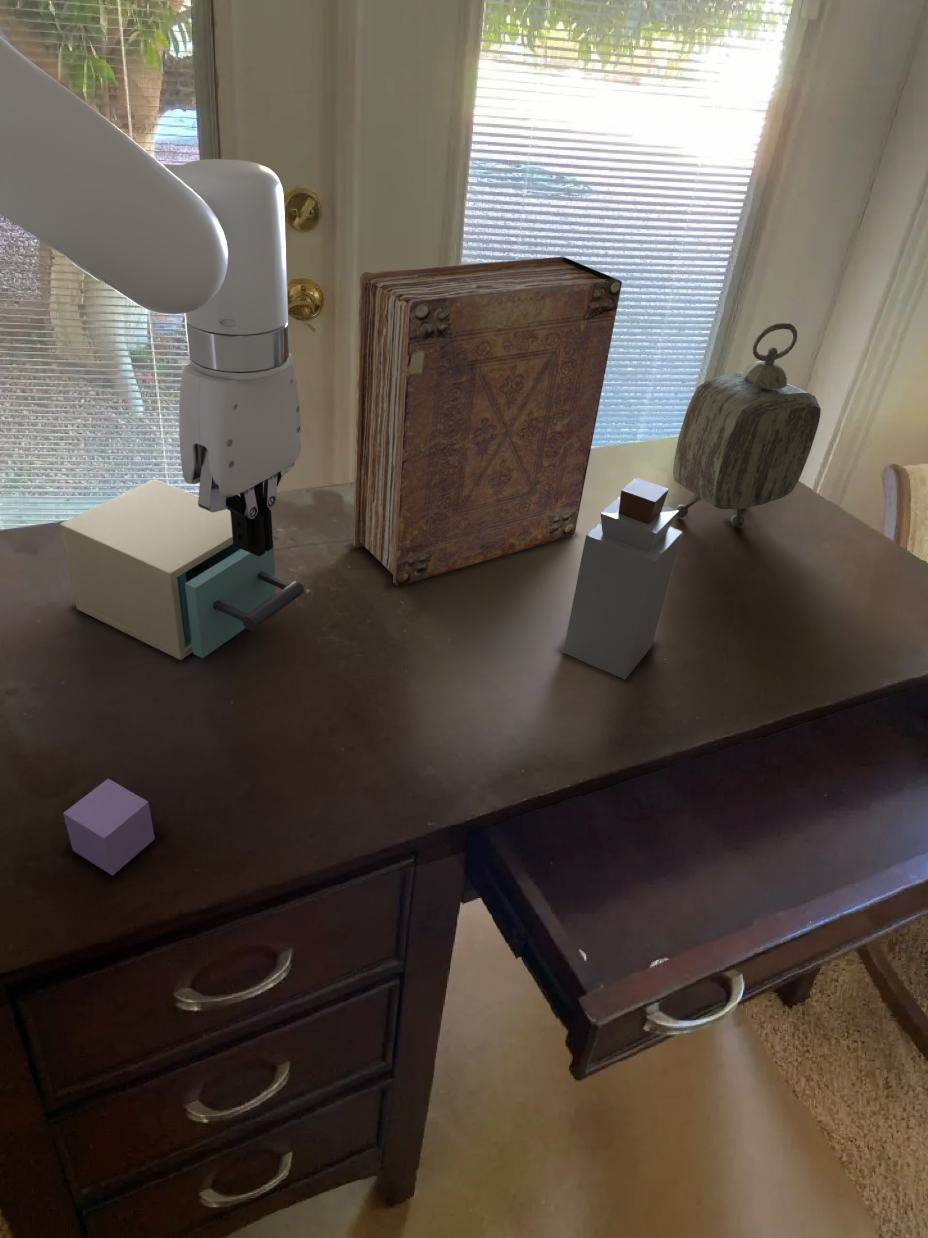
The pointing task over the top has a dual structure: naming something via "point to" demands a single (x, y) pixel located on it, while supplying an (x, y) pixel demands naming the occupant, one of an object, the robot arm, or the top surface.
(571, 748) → the top surface
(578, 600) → the perfume bottle
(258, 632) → the top surface
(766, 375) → the tabletop clock
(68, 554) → the drawer cabinet
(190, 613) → the teal drawer
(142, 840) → the lavender cube
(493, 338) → the book
